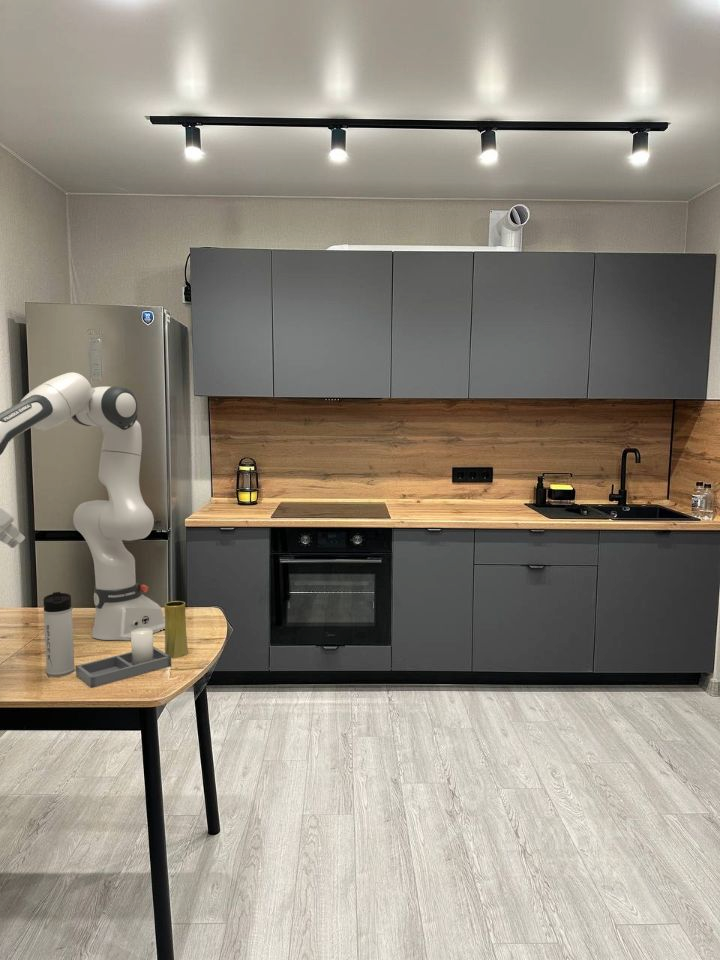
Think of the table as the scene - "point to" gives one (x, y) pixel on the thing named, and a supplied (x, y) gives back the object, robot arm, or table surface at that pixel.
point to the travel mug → (58, 634)
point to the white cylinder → (142, 645)
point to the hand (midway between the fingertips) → (19, 543)
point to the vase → (175, 629)
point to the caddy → (119, 668)
